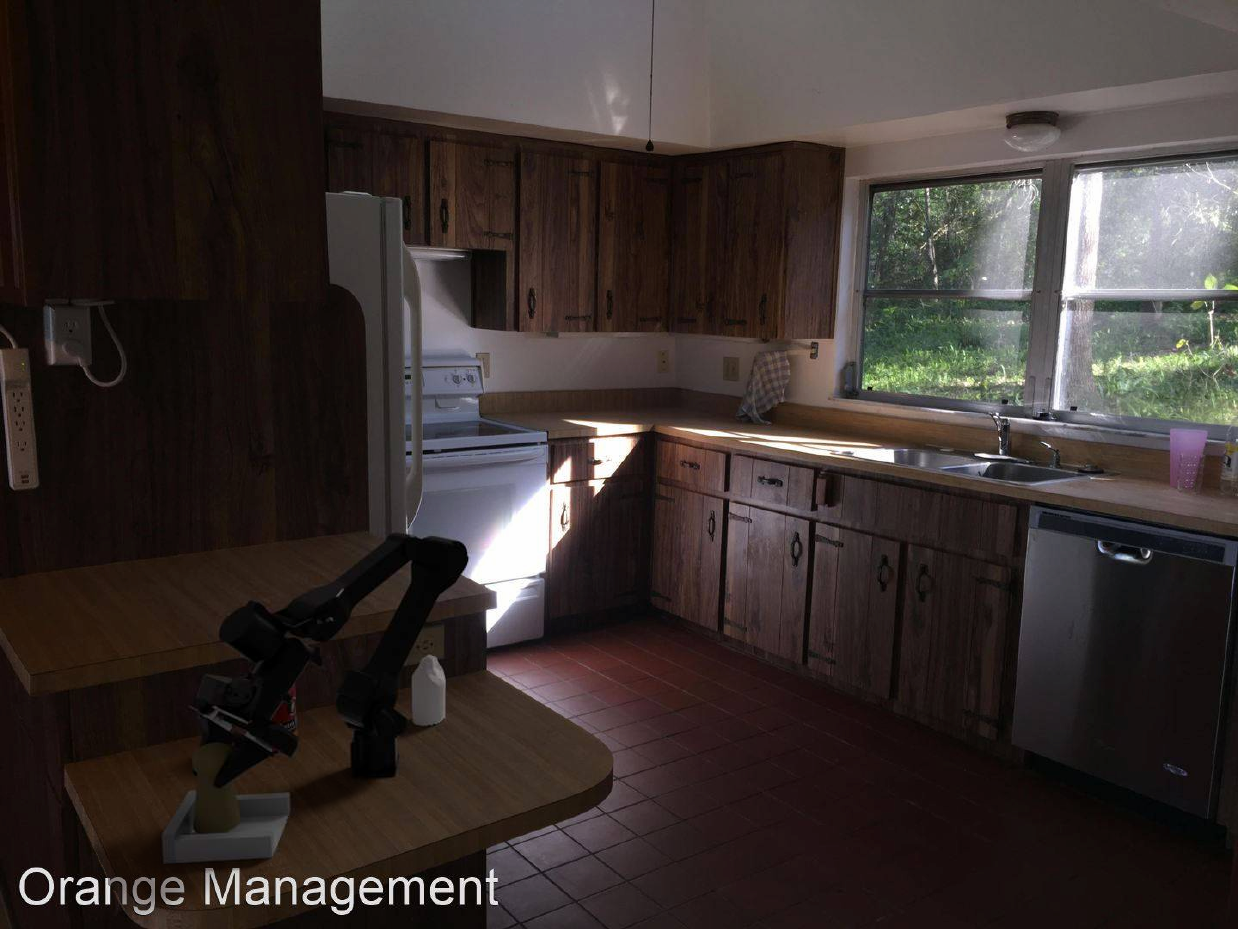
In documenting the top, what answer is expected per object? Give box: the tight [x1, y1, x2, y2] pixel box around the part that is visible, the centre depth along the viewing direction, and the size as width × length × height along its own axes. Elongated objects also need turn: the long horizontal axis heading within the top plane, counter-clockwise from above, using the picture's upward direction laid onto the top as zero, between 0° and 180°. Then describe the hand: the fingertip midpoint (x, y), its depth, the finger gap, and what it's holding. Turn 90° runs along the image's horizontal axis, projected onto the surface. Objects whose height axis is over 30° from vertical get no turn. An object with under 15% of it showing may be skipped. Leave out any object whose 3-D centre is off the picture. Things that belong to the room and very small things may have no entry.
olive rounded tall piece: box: [191, 743, 241, 834], centre depth 135 cm, size 6×6×11 cm
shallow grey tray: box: [161, 789, 291, 865], centre depth 136 cm, size 14×12×4 cm
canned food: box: [249, 683, 298, 753], centre depth 165 cm, size 8×8×11 cm
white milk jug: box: [411, 654, 447, 727], centre depth 175 cm, size 6×12×6 cm
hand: (205, 781), depth 134 cm, fingers closed on olive rounded tall piece, 5 cm apart
